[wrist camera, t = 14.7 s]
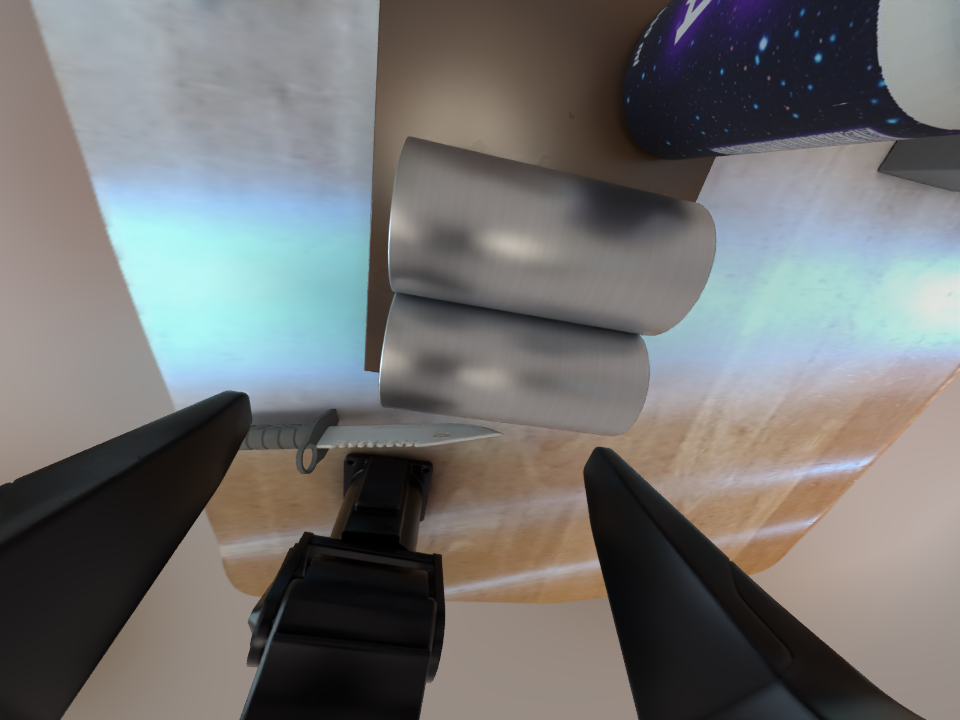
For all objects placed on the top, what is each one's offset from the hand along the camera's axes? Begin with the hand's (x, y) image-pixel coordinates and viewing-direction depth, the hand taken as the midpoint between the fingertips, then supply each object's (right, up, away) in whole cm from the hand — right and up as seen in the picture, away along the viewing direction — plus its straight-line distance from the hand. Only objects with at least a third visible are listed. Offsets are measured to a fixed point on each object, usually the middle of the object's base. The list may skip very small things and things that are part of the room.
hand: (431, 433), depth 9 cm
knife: (-7, -2, +15) cm, 16 cm away
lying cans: (+3, +6, +11) cm, 13 cm away
